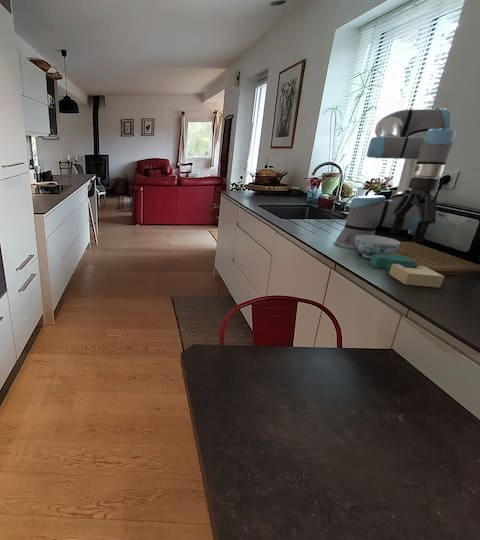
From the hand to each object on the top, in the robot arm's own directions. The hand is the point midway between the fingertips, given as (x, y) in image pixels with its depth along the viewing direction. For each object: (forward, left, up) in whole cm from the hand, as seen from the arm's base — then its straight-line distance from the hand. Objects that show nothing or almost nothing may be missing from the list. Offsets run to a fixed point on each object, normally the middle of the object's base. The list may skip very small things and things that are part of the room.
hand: (405, 237), depth 119 cm
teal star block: (0, -2, -12) cm, 12 cm away
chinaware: (-13, -2, -12) cm, 18 cm away
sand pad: (+14, -1, -12) cm, 18 cm away
